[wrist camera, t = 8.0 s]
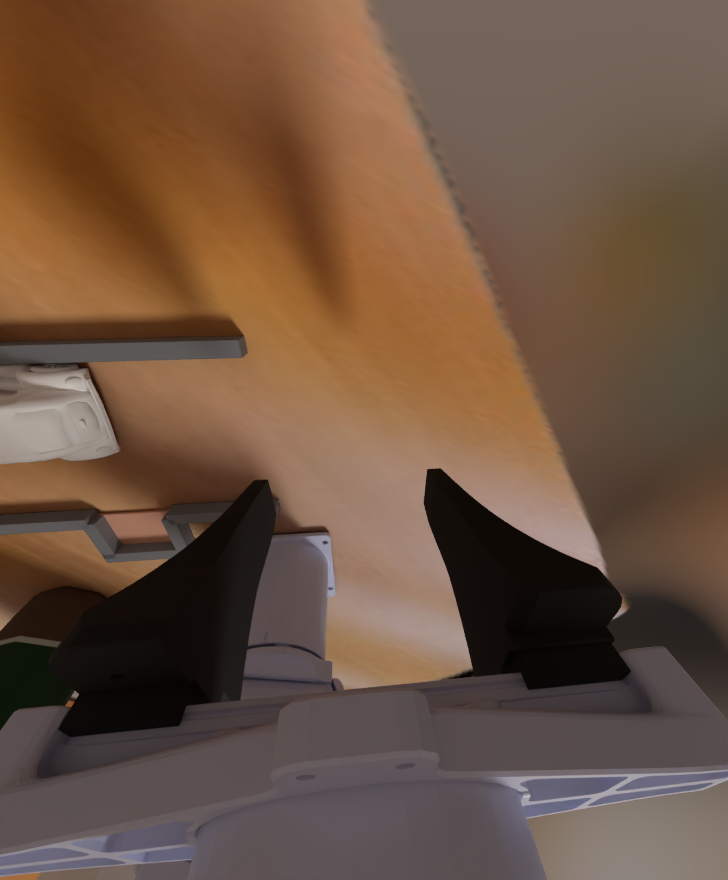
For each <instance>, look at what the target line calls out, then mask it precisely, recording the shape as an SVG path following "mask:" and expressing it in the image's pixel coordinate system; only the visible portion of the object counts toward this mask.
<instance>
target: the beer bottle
mask: <svg viewBox="0 0 728 880" xmlns="http://www.w3.org/2000/svg"><path fill="white" fill-rule="evenodd" d="M105 599H107V598H105V597H104V596H103V595H101V594H100V593H97V592H92V591H87V590H82V589H77V588H72V587H67V586H66V587H62V588H58V589H54V590H50V591H46V592H42V593H40V594H38V595H36V596H34V597H33V598H32V599H31V600H30V601H29V602H28V603H27V604H26V605H25V606H24V607H23V608H22V609H21V610H20V611H19V612H18V613H17V614H16V615H15V616H14V617H13V618H12V619H11V620H10V621H9V622H8V623H7V625H6V626H5V627H4V628H3V629H2V630H1V631H0V730H1V729H2V728H3V726H4V725H5V724H6V722H7V721H8V720H9V718H10V717H11V715H12V714H13V713H14V712H15V711H17V710H19V709H25V708H36V707H46V706H65V705H66V704H67V702H68V700H69V699H70V697H71V696H72V694H73V692H74V691H75V690H74V689H72V688H71V687H70V686H68V685H67V684H66V683H64V682H63V681H62V680H60V679H59V678H58V677H56V676H55V675H54V674H53V673H52V672H51V670H50V667H49V663H48V661H49V659H50V656H51V655H52V653H53V652H54V651H55V649H56V648H57V647H58V645H59V644H60V643H61V641H62V640H63V639H64V637H65V636H66V635H67V633H68V632H69V631H70V629H71V628H72V627H73V625H74V624H75V623H76V621H77V620H78V619H79V617H80V616H81V615H82V613H83V612H84V611H85V610H87V609H89V608H91V607H93V606H95V605H96V604H98V603H100V602H102V601H104V600H105Z"/></svg>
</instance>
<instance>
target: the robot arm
mask: <svg viewBox="0 0 728 880" xmlns="http://www.w3.org/2000/svg"><path fill="white" fill-rule="evenodd" d="M424 506H425V510H426V514H427V518H428V522H429V525H430V527H431V530H432V533H433V535H434V538H435V540H436V543H437V545H438V548H439V550H440V553H441V555H442V558H443V560H444V563H445V565H446V568H447V571H448V574H449V577H450V581H451V584H452V588H453V591H454V595H455V598H456V602H457V606H458V609H459V613H460V617H461V621H462V625H463V629H464V633H465V637H466V641H467V645H468V649H469V654H470V658H471V663H472V667H473V671H474V676H475V677H470V678H459V679H449V680H439V681H429V682H419V683H409V684H399V685H389V686H379V687H369V688H359V689H349V690H344V688H343V685H342V683H341V681H340V680H339V679H337V678H332V662H331V661H326V660H325V649H326V622H327V597H333V596H335V595H336V588H335V578H334V567H333V557H332V547H331V537H330V534H329V533H327V532H317V533H301V534H285V535H273V532H274V526H275V519H276V510H275V506H274V502H273V498H272V494H271V490H270V486H269V482H268V480H255V481H253V482H252V483H251V484H250V485H249V486H248V487H247V489H246V490H245V491H244V492H243V493H242V494H241V495H240V496H239V497H238V498H237V499H236V501H235V502H234V503H233V504H232V505H231V506H230V507H229V508H228V509H227V510H226V511H225V512H224V513H223V514H222V515H221V516H220V517H219V518H218V519H217V520H216V521H215V522H214V523H213V524H212V525H211V526H210V527H209V528H208V529H207V530H205V531H204V532H203V533H202V534H201V535H200V536H199V537H197V538H196V539H195V540H194V541H193V542H191V543H190V544H189V545H188V546H186V547H185V548H184V549H183V550H181V551H180V552H179V553H177V554H176V555H174V556H173V557H172V558H170V559H169V560H168V561H166V562H165V563H163V564H162V565H161V566H159V567H158V568H156V569H155V570H153V571H152V572H150V573H149V574H147V575H146V576H144V577H143V578H141V579H139V580H138V581H136V582H135V583H133V584H131V585H130V586H128V587H126V588H125V589H123V590H121V591H120V592H118V593H116V594H114V595H113V596H111V597H109V598H107V599H105V600H104V601H102V602H100V603H98V604H96V605H95V606H93V607H91V608H89V609H87V610H85V611H84V612H83V613H82V615H81V616H80V617H79V619H78V620H77V621H76V623H75V624H74V625H73V627H72V628H71V629H70V631H69V632H68V633H67V635H66V636H65V637H64V639H63V640H62V641H61V643H60V644H59V645H58V647H57V648H56V649H55V651H54V652H53V653H52V655H51V656H50V659H49V661H48V663H49V667H50V670H51V672H52V673H53V674H54V675H55V676H56V677H58V678H59V679H60V680H62V681H63V682H64V683H66V684H67V685H68V686H70V687H71V688H72V689H74V690H75V691H76V692H78V693H79V696H78V697H77V699H76V701H75V702H74V704H73V706H72V707H71V708H70V707H66V706H46V707H36V708H25V709H19V710H17V711H15V712H14V713H13V714H12V715H11V717H10V718H9V720H8V721H7V722H6V724H5V725H4V726H3V728H2V729H1V730H0V877H3V876H12V875H20V874H29V873H38V872H49V871H59V870H70V869H82V868H94V867H107V866H120V865H133V864H134V866H133V870H134V873H135V874H136V877H135V880H547V877H546V874H545V872H544V869H543V866H542V863H541V860H540V857H539V854H538V851H537V848H536V845H535V842H534V839H533V836H532V833H531V830H530V827H529V824H528V821H527V818H533V817H538V816H543V815H550V814H555V813H561V812H567V811H573V810H578V809H584V808H589V807H595V806H601V805H607V804H613V803H618V802H625V801H630V800H636V799H643V798H649V797H656V796H663V795H669V794H677V793H684V792H692V791H700V790H704V789H707V788H709V787H712V786H714V785H716V784H719V783H721V782H724V781H727V780H728V721H727V719H726V718H725V717H724V716H723V715H722V714H721V712H720V711H719V710H718V709H717V708H716V707H715V705H714V704H713V703H712V702H711V701H710V700H709V699H708V697H707V696H706V695H705V694H704V693H703V691H702V690H700V688H699V687H698V686H697V684H696V683H695V682H694V681H693V680H692V679H691V677H690V676H689V675H688V674H687V673H686V672H685V670H684V669H683V668H682V667H681V666H680V665H679V663H678V662H677V661H676V660H675V659H674V657H673V656H672V655H671V654H670V653H669V652H668V650H667V649H666V648H664V647H661V646H659V647H649V648H639V649H631V650H626V651H623V652H621V653H620V654H619V653H618V652H617V651H616V649H615V648H614V646H613V645H612V644H611V643H612V642H614V637H613V635H612V634H611V633H610V631H609V630H608V629H607V627H606V626H607V625H608V624H609V623H610V621H611V620H612V619H613V617H614V616H615V615H616V614H617V612H618V611H619V609H620V607H621V604H622V597H621V595H620V593H619V592H618V591H617V589H616V588H615V587H614V586H613V585H612V584H611V583H610V581H609V580H608V579H607V578H606V577H605V576H604V574H603V573H602V572H601V571H600V570H599V569H598V568H597V567H594V566H592V565H590V564H587V563H585V562H582V561H580V560H578V559H575V558H573V557H570V556H568V555H566V554H564V553H561V552H559V551H557V550H555V549H553V548H551V547H549V546H547V545H545V544H543V543H541V542H539V541H537V540H535V539H533V538H532V537H530V536H528V535H526V534H525V533H523V532H521V531H519V530H518V529H516V528H514V527H513V526H511V525H510V524H508V523H507V522H505V521H504V520H502V519H500V518H499V517H497V516H496V515H495V514H493V513H492V512H490V511H489V510H488V509H487V508H485V507H484V506H483V505H481V504H480V503H479V502H478V501H476V500H475V499H474V498H473V497H471V496H470V495H469V494H468V493H467V492H466V491H464V490H463V489H462V488H461V487H460V486H459V485H458V484H457V483H456V482H455V481H453V480H452V479H451V478H450V477H449V476H448V475H447V474H446V473H445V472H444V471H443V470H442V469H441V468H439V469H427V477H426V486H425V496H424Z"/></svg>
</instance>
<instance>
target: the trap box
mask: <svg viewBox="0 0 728 880" xmlns="http://www.w3.org/2000/svg"><path fill="white" fill-rule="evenodd" d="M247 353H248V352H247V347H246V342H245V338H244V336H222V337H179V338H137V339H94V340H52V341H9V342H0V365H2V364H38V363H74V362H110V361H146V360H182V359H217V358H242V357H244V356H245V355H246V354H247ZM234 502H235V501H232V502H214V503H196V504H178V505H172V507H171V508H170V510H154V511H137V512H119V513H102V514H98V512H97V511H96V509H89V510H71V511H54V512H36V513H18V514H0V535H6V534H23V533H39V532H56V531H73V530H84V531H85V532H86V533H87V535H88V536H89V538H90V539H91V540H92V542H93V543H94V545H95V546H96V547H97V549H98V550H99V552H100V553H101V554H102V556H103V557H104V559H105V560H106V561H107V563H110V562H125V561H140V560H155V559H170V558H172V557H173V556H174V555H176V554H177V553H179V552H180V551H181V550H183V549H184V548H185V547H186V546H188V545H189V544H190V543H191V542H193V541H194V540H195V539H194V536H193V534H192V532H191V530H190V527H189V525H188V524H189V523H206V522H215V521H216V520H217V519H218V518H219V517H220V516H221V515H222V514H223V513H224V512H225V511H226V510H227V509H228V508H229V507H230V506H231V505H232V504H233V503H234ZM273 502H274V506H275V510H276V518H278V515H279V511H280V503H279V499H273Z"/></svg>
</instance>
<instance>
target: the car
mask: <svg viewBox="0 0 728 880" xmlns="http://www.w3.org/2000/svg"><path fill="white" fill-rule="evenodd" d="M103 405H105V404H102V401H101V399H100V397H99V394H98V393H97V391H96V389H95V387H94V385H93V383H92V380H91V377H90V374H89V370H88V368H86V369H79V367H78V365H77V364H75V363H43V364H39V365H32V364H8V365H0V464H12V463H26V462H38V461H47V460H51V459H55V458H61V459H64V460H69V461H81V460H91V459H97V458H102V457H106V456H109V455H112V454H115V453H117V452H119V451H121V449H120V447H119V446H118V444H117V442H116V438H115V435H114V432H113V429H112V426H111V423H110V422H112V421H109V418H108V416H107V413H106V411H105V408H104V406H103Z"/></svg>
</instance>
